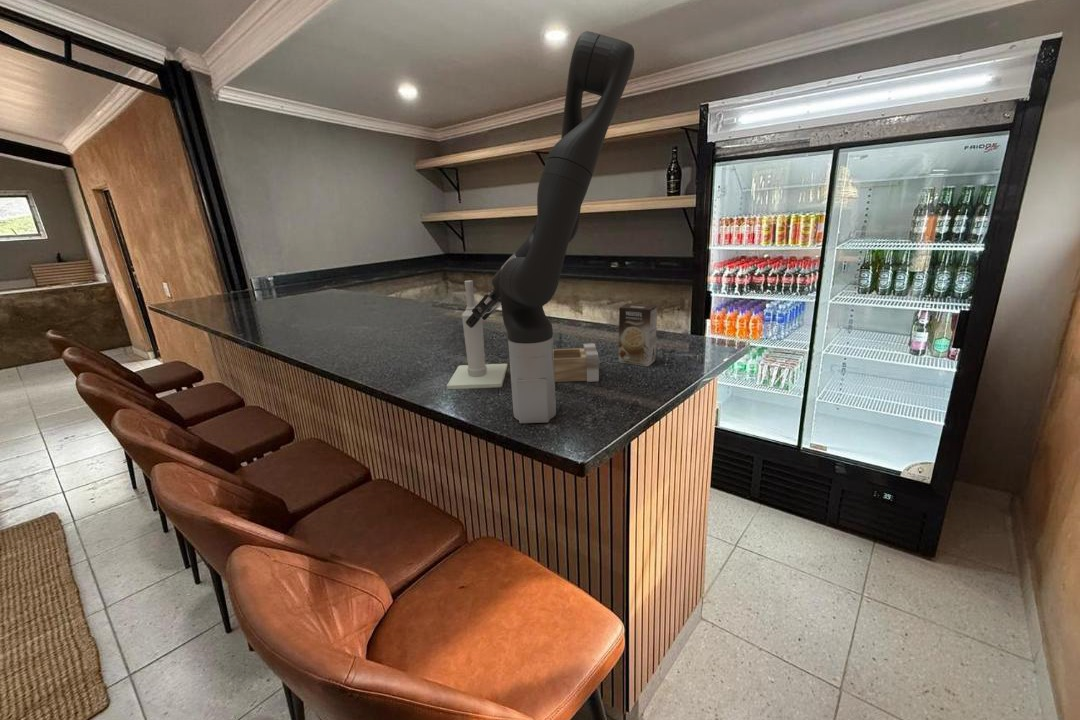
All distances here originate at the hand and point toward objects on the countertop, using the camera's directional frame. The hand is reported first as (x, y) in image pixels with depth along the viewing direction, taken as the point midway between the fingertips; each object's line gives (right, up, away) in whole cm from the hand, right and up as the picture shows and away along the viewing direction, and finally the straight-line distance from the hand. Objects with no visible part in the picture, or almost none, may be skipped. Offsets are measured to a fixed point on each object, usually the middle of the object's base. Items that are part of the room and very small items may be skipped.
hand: (475, 321), depth 116 cm
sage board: (0, -15, +5) cm, 16 cm away
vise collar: (+24, -14, +3) cm, 28 cm away
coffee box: (+44, -11, +11) cm, 47 cm away
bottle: (0, -14, +5) cm, 15 cm away
